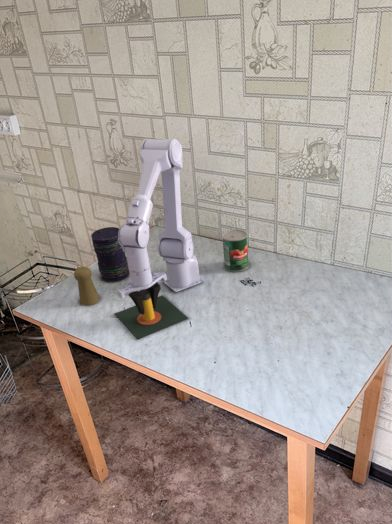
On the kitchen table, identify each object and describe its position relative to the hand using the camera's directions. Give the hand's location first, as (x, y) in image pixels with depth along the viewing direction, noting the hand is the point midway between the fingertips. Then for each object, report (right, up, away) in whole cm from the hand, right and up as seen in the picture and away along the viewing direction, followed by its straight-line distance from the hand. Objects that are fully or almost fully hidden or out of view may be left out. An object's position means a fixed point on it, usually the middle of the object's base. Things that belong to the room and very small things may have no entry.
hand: (147, 310), depth 144 cm
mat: (+1, -2, +3) cm, 4 cm away
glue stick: (0, -2, +2) cm, 3 cm away
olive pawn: (-19, +4, +14) cm, 24 cm away
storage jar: (-13, +14, +26) cm, 32 cm away
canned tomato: (+27, +16, +22) cm, 39 cm away
